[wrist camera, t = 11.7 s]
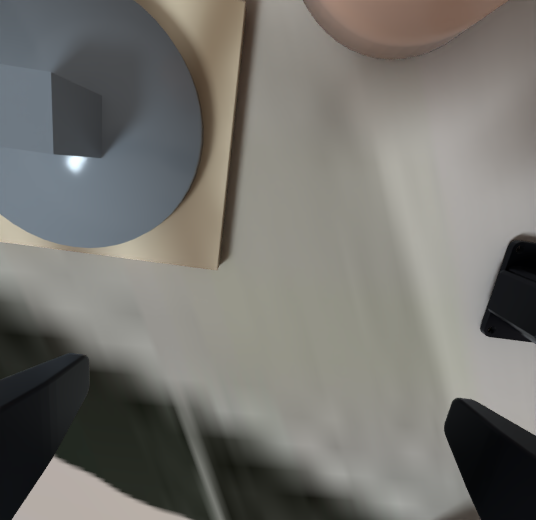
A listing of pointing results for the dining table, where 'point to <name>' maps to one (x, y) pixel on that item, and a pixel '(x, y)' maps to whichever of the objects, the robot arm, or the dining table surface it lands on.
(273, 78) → the dining table surface
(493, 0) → the bowl
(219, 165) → the board
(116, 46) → the lid
